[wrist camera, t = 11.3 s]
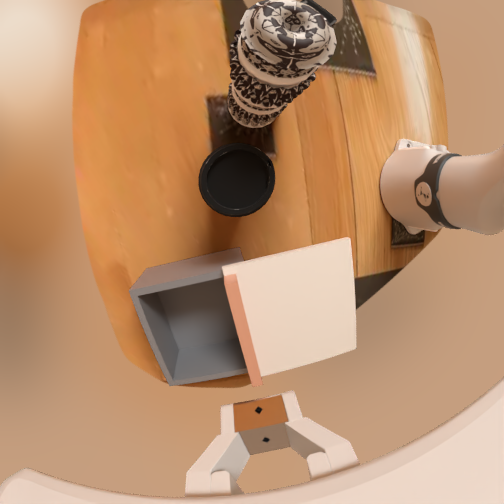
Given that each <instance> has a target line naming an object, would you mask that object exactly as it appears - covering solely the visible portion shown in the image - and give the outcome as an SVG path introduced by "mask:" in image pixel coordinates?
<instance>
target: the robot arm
mask: <svg viewBox="0 0 504 504" xmlns="http://www.w3.org/2000/svg"><path fill="white" fill-rule="evenodd" d="M407 145H408V147H407ZM380 190H381V196H382V200H383V203H384V205H385V207H386V209H387V211H388V212H389V214H390V215H391V216H392V217H393V218H394V219H396V220H397V221H399V222H400V223H402V224H403V225H404V226H405V228H406V230H407V231H408V232H409V233H410V234H417V233H418V232H420V231H422V230H427V231H433V232H437V231H438V230H439V229H441V228H442V227H445V228H450V229H461V228H463V229H467V230H471V231H474V232H478V233H481V234H485V235H494V234H497V233H499V232H501V231H502V230H503V229H504V145H503V146H501V147H500V148H499V149H497V150H496V151H494V152H491V153H488V154H481V155H473V156H461V155H459V154H454V153H449V151H448V150H447V149H446V146H444V145H436V146H435V145H428V144H424V143H420V142H416V141H412V140H407V139H399V140H398V141H397V144H396V147H395V150H394V152H393V154H392V155H391V156H390V157H389V158H388V159H387V161H386V163H385V165H384V167H383V169H382V173H381V179H380ZM287 447H291V448H292V449H293V450H295V451H296V452H297V453H298V454H300V455H301V456H302V457H303V458H305V459H306V460H307V463H308V469H309V475H310V481H309V482H305V483H301V484H297V485H293V486H288V487H283V488H278V489H273V490H267V491H262V492H255V493H247V494H244V492H243V491H242V490H241V488H240V487H239V486H238V484H237V483H236V481H237V479H238V477H239V475H240V474H241V472H242V470H243V468H244V466H245V465H246V463H247V461H248V459H249V457H250V455H253V454H257V453H262V452H267V451H272V450H277V449H283V448H287ZM0 504H504V377H503V378H502V379H501V380H500V381H498V382H497V383H496V384H495V385H494V386H493V387H491V388H490V389H489V390H488V391H487V392H486V393H484V394H483V395H482V396H480V397H479V398H478V399H477V400H475V401H474V402H473V403H472V404H470V405H469V406H467V407H466V408H465V409H463V410H462V411H460V412H459V413H457V414H456V415H455V416H453V417H452V418H450V419H449V420H447V421H445V422H444V423H442V424H441V425H439V426H438V427H436V428H434V429H433V430H431V431H429V432H428V433H426V434H424V435H422V436H421V437H419V438H417V439H415V440H413V441H411V442H409V443H408V444H406V445H404V446H402V447H400V448H398V449H396V450H393V451H391V452H389V453H387V454H385V455H383V456H380V457H378V458H376V459H373V460H371V461H369V462H366V463H364V464H361V465H360V463H359V461H358V459H357V457H356V455H355V453H354V450H353V448H352V446H351V444H350V442H349V441H348V440H346V439H344V438H342V437H340V436H338V435H337V434H335V433H333V432H331V431H329V430H328V429H326V428H324V427H322V426H321V425H319V424H317V423H315V422H314V421H312V420H310V419H309V418H307V417H305V418H303V417H302V414H301V410H300V407H299V404H298V401H297V398H296V395H295V392H294V391H293V390H292V391H289V392H285V393H281V394H277V395H273V396H269V397H265V398H260V399H256V400H251V401H245V402H239V403H234V404H227V405H221V435H217V436H216V438H215V439H214V440H213V441H212V443H211V444H210V445H209V446H208V447H207V449H206V450H205V451H204V453H203V454H202V455H201V456H200V457H199V459H198V460H197V461H196V462H195V463H194V465H193V466H192V467H191V468H190V469H189V470H188V472H187V476H186V490H185V497H160V496H146V495H137V494H128V493H121V492H115V491H109V490H103V489H99V488H94V487H89V486H85V485H81V484H77V483H73V482H70V481H66V480H63V479H59V478H56V477H53V476H50V475H47V474H44V473H42V472H39V471H36V470H34V469H30V468H24V469H22V470H20V471H18V472H16V473H15V474H13V475H12V476H10V477H8V478H7V479H5V480H4V482H3V483H2V485H1V486H0Z"/></svg>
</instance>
